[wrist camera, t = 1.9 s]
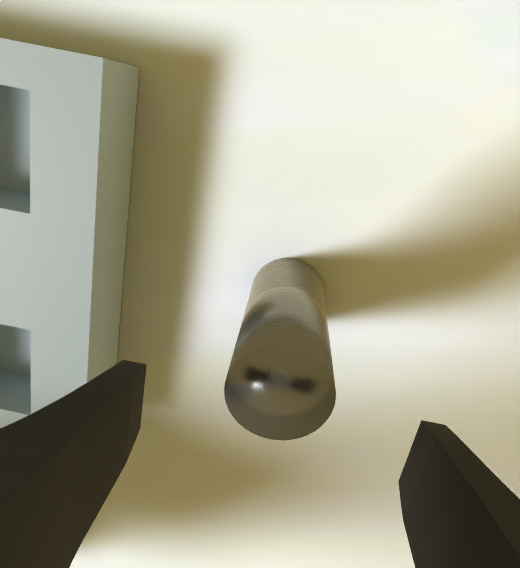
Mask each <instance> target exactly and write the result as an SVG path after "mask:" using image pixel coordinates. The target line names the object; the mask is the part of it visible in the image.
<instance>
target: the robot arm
mask: <svg viewBox="0 0 520 568" xmlns="http://www.w3.org/2000/svg"><path fill="white" fill-rule="evenodd" d="M145 374H146V364H141V363H136V362H131V361H126V360H123V361H121V362H119V363H118V364H116V365H114V366H113V367H111V368H110V369H108V370H106V371H105V372H103V373H102V374H100V375H98V376H97V377H95V378H94V379H92V380H90V381H89V382H87V383H86V384H84V385H82V386H81V387H79V388H77V389H76V390H74V391H72V392H71V393H69V394H67V395H66V396H64V397H62V398H60V399H58V400H56V401H55V402H53V403H51V404H49V405H47V406H45V407H43V408H42V409H40V410H38V411H36V412H34V413H32V414H30V415H28V416H26V417H24V418H22V419H20V420H18V421H16V422H14V423H11V424H9V425H7V426H5V427H2V428H0V568H69V567H70V565H71V562H72V560H73V558H74V556H75V554H76V552H77V550H78V549H79V547H80V545H81V543H82V541H83V539H84V537H85V536H86V534H87V532H88V530H89V528H90V527H91V525H92V523H93V521H94V519H95V518H96V516H97V514H98V512H99V511H100V509H101V507H102V505H103V503H104V502H105V500H106V498H107V496H108V495H109V493H110V491H111V489H112V487H113V486H114V484H115V482H116V480H117V478H118V477H119V475H120V473H121V471H122V469H123V467H124V466H125V464H126V462H127V459H128V457H129V454H130V452H131V450H132V447H133V445H134V442H135V440H136V437H137V435H138V432H139V430H140V423H141V413H142V403H143V393H144V384H145ZM399 490H400V499H401V507H402V514H403V521H404V525H405V529H406V533H407V537H408V541H409V545H410V549H411V553H412V556H413V560H414V564H415V568H520V499H519V498H518V497H517V496H516V495H515V494H514V493H513V492H512V491H511V490H510V489H509V488H508V487H507V486H506V485H504V484H503V483H502V482H501V481H500V480H499V478H498V477H497V476H496V475H495V474H494V473H493V472H492V471H491V470H490V469H489V468H488V467H487V466H486V465H485V464H484V463H483V462H482V461H481V460H480V459H479V458H478V457H477V456H476V455H475V454H474V453H473V452H472V451H471V450H470V449H469V448H468V447H467V446H466V445H465V444H464V443H463V442H462V441H461V440H460V439H459V438H458V437H457V436H456V435H455V434H454V433H453V432H452V431H451V430H450V429H449V428H448V427H447V426H446V425H442V424H437V423H432V422H427V421H423V420H421V423H420V426H419V428H418V431H417V434H416V436H415V439H414V442H413V444H412V447H411V450H410V452H409V455H408V458H407V460H406V463H405V466H404V468H403V471H402V474H401V476H400V479H399Z"/></svg>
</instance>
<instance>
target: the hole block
mask: <svg viewBox="0 0 520 568" xmlns="http://www.w3.org/2000/svg"><path fill="white" fill-rule="evenodd" d="M138 80H139V67H136V66H132V65H128V64H125V63H121V62H117V61H114V60H110V59H106V58H102V57H97V56H92V55H87V54H82V53H77V52H71V51H66V50H61V49H56V48H51V47H46V46H40V45H35V44H30V43H25V42H20V41H15V40H10V39H4V38H0V428H2V427H5V426H7V425H9V424H11V423H14V422H16V421H18V420H20V419H22V418H24V417H26V416H28V415H30V414H32V413H34V412H36V411H38V410H40V409H42V408H43V407H45V406H47V405H49V404H51V403H53V402H55V401H56V400H58V399H60V398H62V397H64V396H66V395H67V394H69V393H71V392H72V391H74V390H76V389H77V388H79V387H81V386H82V385H84V384H86V383H87V382H89V381H90V380H92V379H94V378H95V377H97V376H98V375H100V374H102V373H103V372H105V371H106V370H108V369H110V368H111V367H113V366H114V365H116V364H117V354H118V341H119V328H120V315H121V302H122V289H123V276H124V263H125V250H126V237H127V224H128V211H129V198H130V184H131V171H132V158H133V145H134V132H135V119H136V106H137V93H138Z"/></svg>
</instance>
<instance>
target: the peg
mask: <svg viewBox="0 0 520 568" xmlns="http://www.w3.org/2000/svg"><path fill="white" fill-rule="evenodd" d="M224 393H225V400H226V404H227V406H228V409H229V411H230V412H231V414H232V416H233V417H234V418H235V419H236V421H237V422H238V423H239V424H240V425H242V426H243V427H244V428H245V429H247V430H248V431H250V432H252V433H254V434H256V435H258V436H261V437H264V438H268V439H274V440H291V439H297V438H300V437H304V436H306V435H308V434H310V433H312V432H314V431H316V430H317V429H318V428H320V427H321V426H322V425H323V424H324V423H325V422H326V420H327V419H328V418H329V416H330V414H331V413H332V410H333V408H334V405H335V399H336V391H335V382H334V374H333V366H332V357H331V349H330V341H329V332H328V324H327V316H326V308H325V299H324V291H323V285H322V281H321V279H320V277H319V275H318V273H317V272H316V271H315V270H314V269H313V268H312V267H311V266H310V265H308V264H307V263H305V262H303V261H300V260H297V259H292V258H283V259H278V260H274V261H272V262H270V263H268V264H267V265H265V266H264V267H263V268H262V269H261V270H260V271H259V272H258V274H257V275H256V277H255V279H254V282H253V286H252V289H251V293H250V296H249V300H248V303H247V307H246V310H245V314H244V317H243V321H242V325H241V328H240V332H239V335H238V339H237V342H236V346H235V349H234V353H233V356H232V360H231V364H230V367H229V371H228V374H227V378H226V382H225V388H224Z"/></svg>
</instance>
